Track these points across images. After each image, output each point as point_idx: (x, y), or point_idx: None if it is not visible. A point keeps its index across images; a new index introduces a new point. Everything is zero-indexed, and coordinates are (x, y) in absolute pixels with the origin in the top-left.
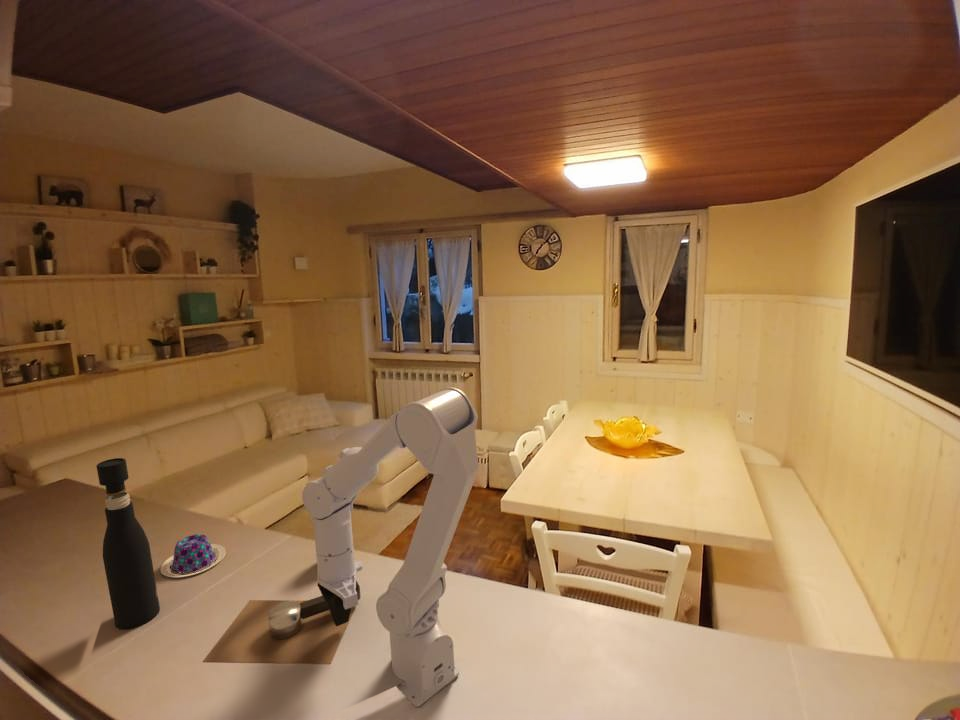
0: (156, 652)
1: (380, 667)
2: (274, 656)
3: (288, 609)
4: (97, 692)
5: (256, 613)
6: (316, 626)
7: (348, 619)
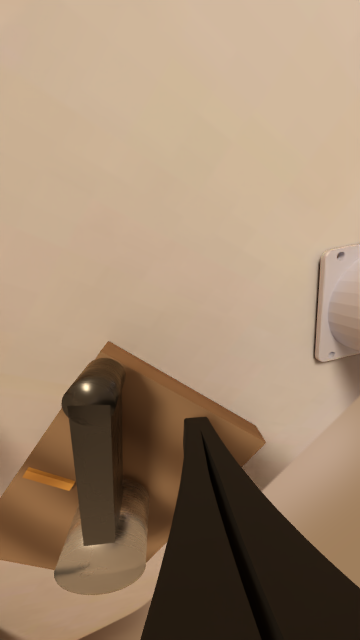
0: (52, 602)
1: (307, 355)
2: None
3: (98, 564)
4: (99, 625)
5: (27, 540)
6: (144, 451)
7: (209, 421)
